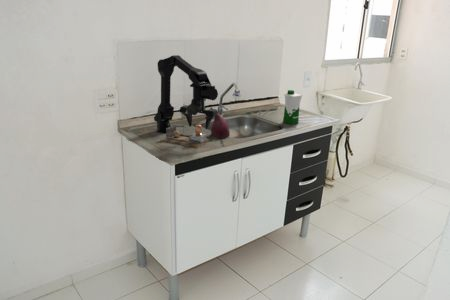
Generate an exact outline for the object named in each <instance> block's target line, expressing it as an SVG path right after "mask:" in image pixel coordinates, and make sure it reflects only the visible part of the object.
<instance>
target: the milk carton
mask: <svg viewBox="0 0 450 300" xmlns="http://www.w3.org/2000/svg"><path fill="white" fill-rule="evenodd" d="M302 96H303V95H302V94H299V93H295V90H293V89H289V90H288V89H287V93H285V94H284V111H283V119H282V123H284V124H287V125H288V124H289V125H291V126H292V125H295V124H298V123H299V121H300V120H299V117H300V106H301V105H300V104H301V101H302Z"/></svg>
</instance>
